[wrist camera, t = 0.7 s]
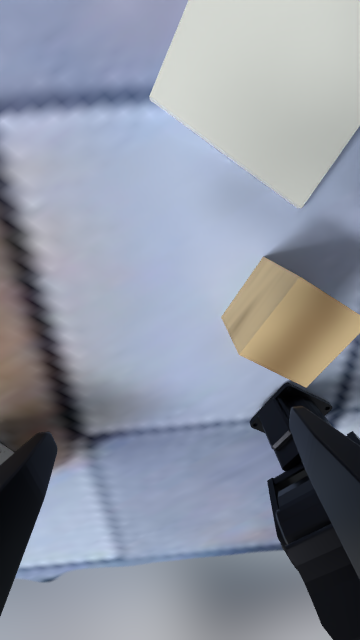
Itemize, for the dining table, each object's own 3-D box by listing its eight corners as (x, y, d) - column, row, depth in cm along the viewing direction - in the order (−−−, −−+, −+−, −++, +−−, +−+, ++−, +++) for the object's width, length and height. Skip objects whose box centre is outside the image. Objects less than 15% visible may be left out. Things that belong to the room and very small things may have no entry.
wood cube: (317, 291, 21) (370, 321, 15) (273, 344, 23) (306, 387, 18) (263, 256, 19) (300, 276, 14) (220, 316, 21) (238, 354, 16)
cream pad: (440, 3, 14) (451, -5, 13) (297, 208, 18) (301, 208, 17) (275, -207, 11) (281, -229, 10) (150, 100, 15) (149, 96, 14)
